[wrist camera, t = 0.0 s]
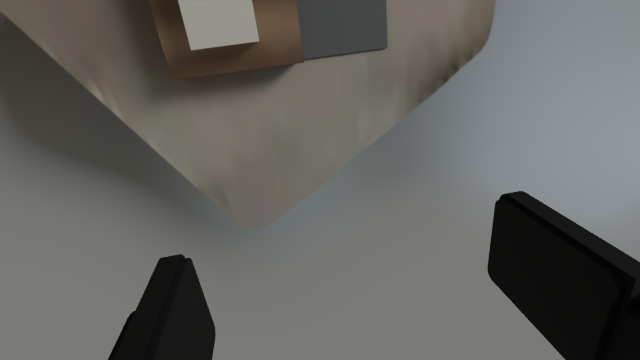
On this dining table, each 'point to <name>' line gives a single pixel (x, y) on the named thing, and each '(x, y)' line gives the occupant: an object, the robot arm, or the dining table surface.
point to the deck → (271, 50)
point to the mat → (341, 26)
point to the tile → (218, 22)
